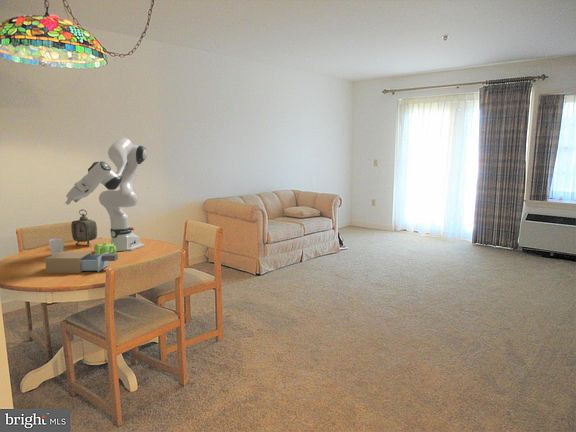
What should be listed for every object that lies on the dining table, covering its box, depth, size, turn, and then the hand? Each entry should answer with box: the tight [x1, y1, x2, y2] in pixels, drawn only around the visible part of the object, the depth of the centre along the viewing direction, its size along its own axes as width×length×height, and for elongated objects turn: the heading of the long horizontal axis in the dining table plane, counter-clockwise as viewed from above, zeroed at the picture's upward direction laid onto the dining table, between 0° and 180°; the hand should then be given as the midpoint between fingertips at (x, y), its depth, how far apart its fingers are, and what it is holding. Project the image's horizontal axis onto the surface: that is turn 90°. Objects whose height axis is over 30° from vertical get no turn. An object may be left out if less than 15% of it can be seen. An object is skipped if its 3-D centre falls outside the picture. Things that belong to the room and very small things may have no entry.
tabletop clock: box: [70, 209, 98, 247], centre depth 278 cm, size 14×9×25 cm, turn 68°
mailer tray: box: [80, 252, 119, 273], centre depth 223 cm, size 25×14×8 cm, turn 92°
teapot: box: [93, 242, 118, 255], centre depth 245 cm, size 12×12×10 cm
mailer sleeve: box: [44, 251, 92, 274], centre depth 223 cm, size 18×14×8 cm
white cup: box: [48, 237, 65, 256], centre depth 252 cm, size 8×8×10 cm
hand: (71, 202), depth 230 cm, fingers open, 8 cm apart
